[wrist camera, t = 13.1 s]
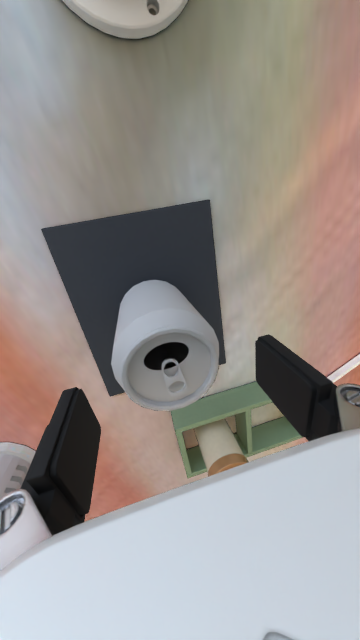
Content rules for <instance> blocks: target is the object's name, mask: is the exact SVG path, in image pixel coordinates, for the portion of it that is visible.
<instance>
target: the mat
mask: <svg viewBox="0 0 360 640" xmlns="http://www.w3.org/2000/svg"><path fill="white" fill-rule="evenodd" d="M41 230H42V232H43V235H44V237H45V240H46V242H47V244H48V247H49V249H50V252H51V254H52V257H53V259H54V262H55V264H56V266H57V269H58V271H59V274H60V276H61V279H62V281H63V283H64V286H65V288H66V291H67V293H68V296H69V298H70V300H71V303H72V305H73V308H74V310H75V313H76V315H77V318H78V320H79V322H80V325H81V327H82V330H83V332H84V335H85V337H86V339H87V342H88V344H89V347H90V349H91V352H92V354H93V357H94V359H95V361H96V364H97V366H98V369H99V371H100V374H101V376H102V378H103V381H104V383H105V386H106V388H107V391H108V393H109V395H110V396H114V395H117V394H120V393H124V392H125V391H124V390H123V388H122V387H121V386H120V384H119V383H118V382H117V380H116V379H115V376H114V372H113V369H112V365H111V361H112V353H113V345H114V339H115V333H116V327H117V321H118V315H119V309H120V304H121V302H122V300H123V298H124V296H125V294H126V293H127V292H128V291H129V290H130V289H131V288H132V287H133V286H135V285H137V284H139V283H141V282H143V281H149V280H160V281H165V282H168V283H169V284H171V285H173V286H175V287H176V288H177V289H178V290H179V291H180V292H181V293H182V294H183V295H184V297H185V298H186V299H187V300H188V301H189V302H190V303H191V304H192V306H193V307H194V308H195V309H196V310H197V311H198V312H199V313H200V315H201V316H202V317H203V318H204V319H205V320H206V321H207V322H208V324H209V325H210V326H211V327H212V328H213V329H214V332H215V334H216V337H217V339H218V342H219V359H218V361H219V365H221V364H225V363H226V359H225V349H224V339H223V329H222V319H221V309H220V299H219V289H218V279H217V269H216V259H215V249H214V238H213V228H212V218H211V208H210V200H204V201H198V202H192V203H187V204H181V205H175V206H170V207H164V208H158V209H152V210H147V211H141V212H135V213H130V214H124V215H118V216H112V217H107V218H101V219H95V220H90V221H84V222H78V223H72V224H67V225H61V226H55V227H50V228H44V229H41Z"/></svg>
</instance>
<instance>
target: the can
mask: <svg viewBox="0 0 360 640" xmlns="http://www.w3.org/2000/svg"><path fill="white" fill-rule="evenodd" d="M218 359H219V342H218V339H217V337H216V334H215V332H214V329H213V328H212V327H211V326H210V325H209V324H208V322H207V321H206V320H205V319H204V318H203V317H202V316H201V315H200V313H199V312H198V311H197V310H196V309H195V308H194V307H193V306H192V304H191V303H190V302H189V301H188V300H187V299H186V298H185V297H184V295H183V294H182V293H181V292H180V291H179V290H178V289H177V288H176V287H175V286H173V285H171V284H169V283H168V282H165V281H160V280H149V281H143V282H141V283H139V284H137V285H135V286H133V287H132V288H131V289H130V290H129V291H128V292H127V293H126V294H125V296H124V298H123V300H122V302H121V304H120V309H119V315H118V321H117V327H116V333H115V339H114V345H113V353H112V361H111V365H112V369H113V372H114V376H115V379H116V380H117V382H118V383H119V384H120V386H121V387H122V388H123V390H124V391H125V392H126V394H127V395H128V396H129V398H130V399H131V400H132V401H134V402H135V403H137V404H138V405H140V406H141V407H143V408H147V409H151V410H154V411H172V410H176V409H180V408H184V407H186V406H188V405H190V404H192V403H194V402H196V401H197V400H198V399H200V398H201V397H202V396H203V395H204V394H205V393H206V392H207V391H208V390H209V389H210V387H211V386H212V384H213V383H214V381H215V379H216V376H217V372H218V369H219V361H218Z"/></svg>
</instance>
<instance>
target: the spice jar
mask: <svg viewBox="0 0 360 640" xmlns="http://www.w3.org/2000/svg"><path fill="white" fill-rule="evenodd" d="M193 429H194V432H195V435H196V438H197V441H198V444H199V447H200V450H201V454H202V457H203V460H204V463H205V466H206V469H207V472H208V477H209V476H211V475H214V474H217V473H220V472H223V471H225V470H228V469H231V468H234V467H237V466H240V465H242V464H245V463H248V460H247V458H246V457H245V456H244V454H243V452H242V450H241V448H240V446H239V444H238V442H237V440H236V438H235V436H234V435H233V433H232V431H231V429H230V427H229V425H228V423H227V421H226V419H225V418H223V419H220V420H217V421H214V422H211V423H208V424H205V425H202V426H199V427H196V428H193Z"/></svg>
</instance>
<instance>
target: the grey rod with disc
mask: <svg viewBox="0 0 360 640" xmlns="http://www.w3.org/2000/svg"><path fill="white" fill-rule="evenodd" d="M35 453H36V451H34V450H33V449H31V448H29V447H27V446H25V445H20V444H15V443H11V442H2V443H0V499H1V498H2V497H3V496H5V495H6V494H8V493H10V492H12V491H14V490H17V489H20V488H21V486H22V483H23V481H24V479H25V476H26V474H27V472H28V469H29V467H30V465H31V462H32V460H33V457H34V455H35Z"/></svg>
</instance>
